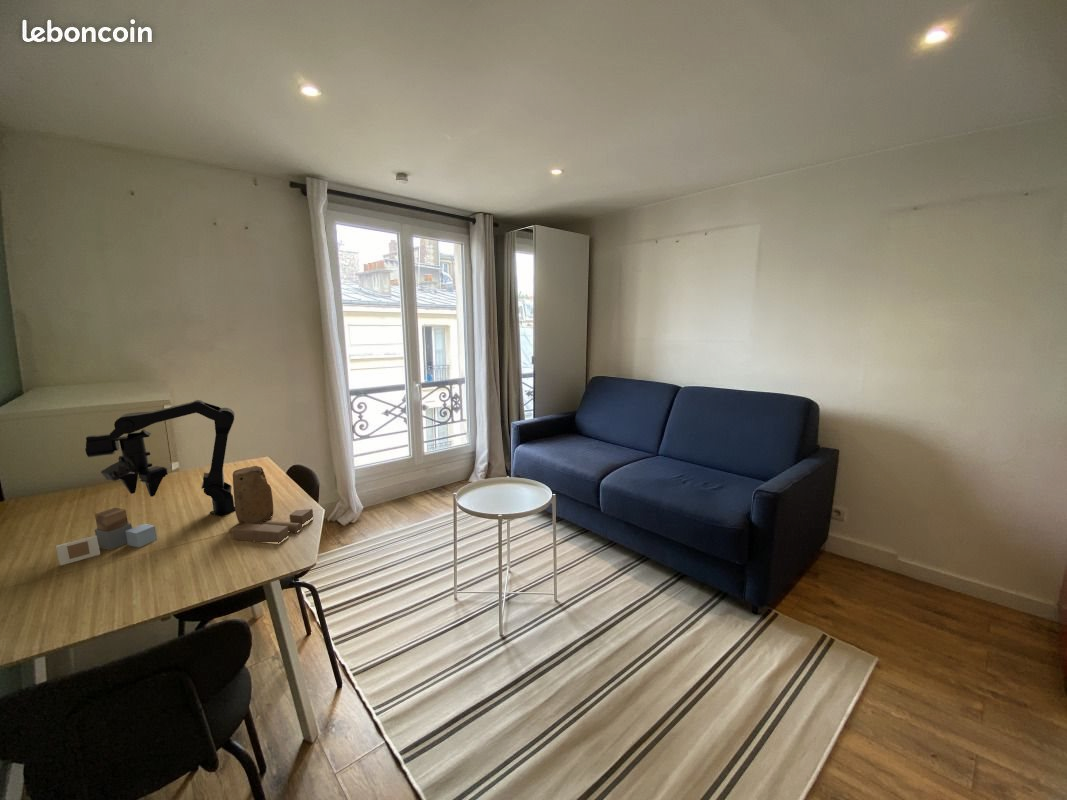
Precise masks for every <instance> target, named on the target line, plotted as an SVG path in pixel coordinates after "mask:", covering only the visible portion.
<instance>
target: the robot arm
mask: <svg viewBox="0 0 1067 800" xmlns="http://www.w3.org/2000/svg"><path fill="white" fill-rule="evenodd" d="M193 414H199V415H200V416H201V415H202V416H203V417H205V418H207V419H209V420H212V421H214V430H215V437H214V438H215V439H214V445H213V451H212V452H213V453H212V458H211V462H210V463H211V465H210V469H209V472H203V476H202V484H201V486H200V487H201V489H203V493H204V494H205V495H206V496H208V497H210V498H211V503H212V508H213V509H212V510H211V511H209V514H210V515H215V516H225V515H228V514H230V513H231V512H232V513H233V512H235V503H234V494H232V487H233V485H231V484H229V483H227V482H225V477H224V476H225V475H224V463H225V456H226V450H227V443H228V437H229V435H230V434H229V433H230V431H231V428H232V427H233V424H234V421H235V411H234V410H232V409H231V408H228V407H220V406H217V405H214V404H210V403H208V402H205V401H203V400H201V399H200V400H199V399H197V400H193V401H190V402H186V403H182V404H178V405H173V406H170V407H169V406H168V407H166V408H165V407H164V408H161V409H157V410H153V411H152V410H151V411H138V412H128V413H124V414H122V415H120V416H119V418H117V419H116V420H115V421H114V429H113V430H112V431H111V432H109V434H98V435H94V434H93V435H92V434H91V435H88V436H87V437H85V440H86V441H85V449H84V450H85V454H86V456H87V457H88V458H95V457H102V456H110V455H115V454H116V452H117V451H119V450H120V451H121V455H120V456H118V461H117V462H115V463H113V464H111V465H109V466H107V467H106V468H105V469H103V470H101V471H100V473H101V474H102V476H103V477H104V478H105V479H106V480H107V481H109V480H110V481H115V482H116V481H118V480H119V481H121V482H122V484H123V485H124V486H125V488H126V489H127V491H128V492H129V493H130V495H133V494H136V490H137V486H138V485H137V484H138V478H139V479H140V480H139V482H141V483H143V484H145V487H146V488H147V492H148V494H149V496H150V498H151V497H154V496H156V494H157V491H158V489H159V487H160V485H161V483H162V480H163V479H164V478H165V477H166V476H167V475H168V474H169V470H168V468H167V467H164V466H158V465H156V466H153V463H151V462H149V460H148V456H150V455H151V452H150V451H147V449H146V444H145V438H150V436H151V435H152V433H151V432H150V431H146V429H145V428H148V427H149V426H152V425H153V424H157V423H160V422H164V421H168V420H172V419H177V418H180V417H185V416H188V415H193ZM137 431H138V432H137ZM125 434H126V435H125ZM123 435H125V436H123Z"/></svg>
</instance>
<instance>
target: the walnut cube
mask: <svg viewBox="0 0 1067 800" xmlns="http://www.w3.org/2000/svg"><path fill="white" fill-rule="evenodd" d="M127 515H128V514H127V510H126V509H125V508H120V507H113V508H110V509H106V510H103V511H101V512H98V513H95V514H94V517H95V522H96V527H97V528H96V529H99V530H104V531H108V532H109V531H111V530H114V529H117V528H119V527H122V526H125V525H127V524H128V523H129V522H128V516H127Z"/></svg>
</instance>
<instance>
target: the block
mask: <svg viewBox="0 0 1067 800" xmlns="http://www.w3.org/2000/svg"><path fill="white" fill-rule="evenodd" d="M232 487H233V489H232V490H233V501H234V507H235V510H234V512H235V516H236V519H237V522H238V525H243V524H258V523H259V524H261V523H263V522H262V521H264V520H266V521H268V520H267V519H269V518H270V517H271V516H272V517H273V516H274V498H273V492H272V487H271V485H270V484H269V483H268V480H267V478H266V475H265V472H264V469H263V467H261V466H258V465H252V466H249V467H247V466H246V467H243V468H238V469H236V470H233V472H232ZM272 517H271V518H272ZM271 518H270V519H271ZM270 519H269V520H270ZM260 522H261V523H260ZM264 522H265V521H264Z"/></svg>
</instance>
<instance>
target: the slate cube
mask: <svg viewBox="0 0 1067 800" xmlns="http://www.w3.org/2000/svg"><path fill="white" fill-rule="evenodd" d="M156 530H157V529H156V526H155V525H151V524H147V523H143V524H142V523H141V524H139V525H137V526H135V527H132V529H129V530H126V531H125V532H126V537H127V546H131V547H135V548H139V549H140V548H141V547H144V546H146V545H148V544H151V543H153V542H156V541H158V536H157V531H156Z"/></svg>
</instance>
